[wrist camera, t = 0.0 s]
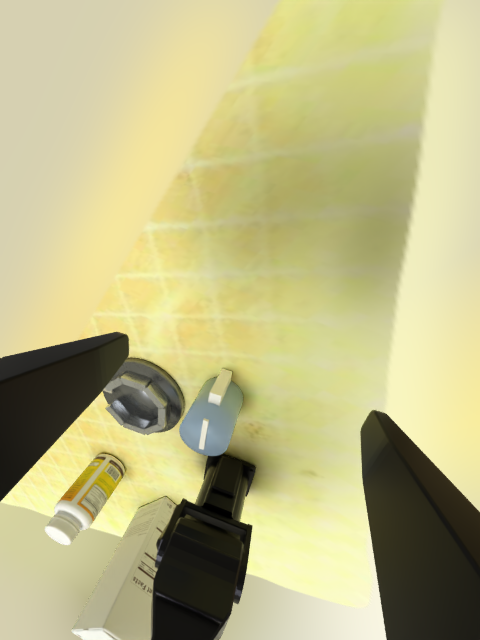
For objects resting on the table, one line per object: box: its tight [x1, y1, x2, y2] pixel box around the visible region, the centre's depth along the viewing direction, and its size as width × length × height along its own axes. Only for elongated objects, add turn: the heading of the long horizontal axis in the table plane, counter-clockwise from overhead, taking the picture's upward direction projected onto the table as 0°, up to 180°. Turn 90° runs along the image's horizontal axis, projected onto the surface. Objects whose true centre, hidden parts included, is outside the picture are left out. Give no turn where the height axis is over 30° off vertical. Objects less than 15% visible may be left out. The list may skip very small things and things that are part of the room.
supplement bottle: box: [45, 454, 125, 545], centre depth 37 cm, size 6×6×10 cm
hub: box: [103, 358, 184, 435], centre depth 31 cm, size 11×11×2 cm
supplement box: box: [72, 497, 176, 640], centre depth 37 cm, size 9×9×15 cm
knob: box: [179, 368, 243, 456], centre depth 26 cm, size 6×5×6 cm
